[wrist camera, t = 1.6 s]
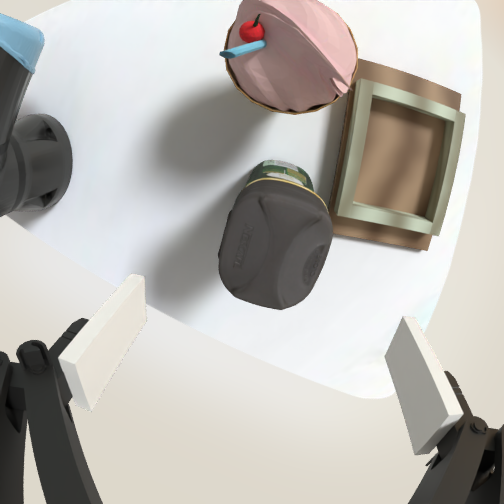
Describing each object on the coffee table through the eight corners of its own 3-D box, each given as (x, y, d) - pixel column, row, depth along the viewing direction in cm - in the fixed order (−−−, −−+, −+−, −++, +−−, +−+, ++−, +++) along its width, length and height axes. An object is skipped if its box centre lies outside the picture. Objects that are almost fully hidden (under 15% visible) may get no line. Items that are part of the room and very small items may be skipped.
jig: (323, 229, 39) (327, 239, 36) (353, 59, 30) (359, 53, 27) (424, 248, 38) (434, 258, 35) (457, 94, 30) (471, 93, 26)
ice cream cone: (289, 136, 35) (299, 147, 17) (222, 76, 33) (162, 31, 14) (352, 77, 31) (422, 36, 13) (286, 17, 29) (288, -72, 11)
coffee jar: (295, 242, 40) (303, 331, 23) (236, 224, 40) (202, 303, 23) (319, 170, 36) (353, 212, 19) (256, 151, 36) (234, 175, 19)
